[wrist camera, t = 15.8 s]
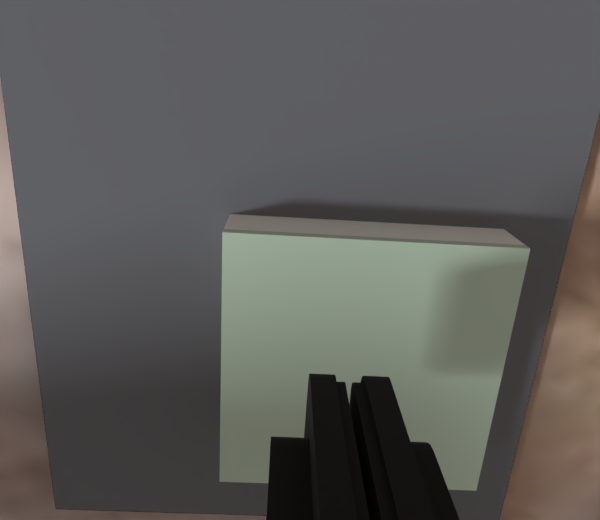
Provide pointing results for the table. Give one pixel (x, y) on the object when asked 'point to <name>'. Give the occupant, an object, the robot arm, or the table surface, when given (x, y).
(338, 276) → the slab
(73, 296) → the mat
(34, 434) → the table surface
